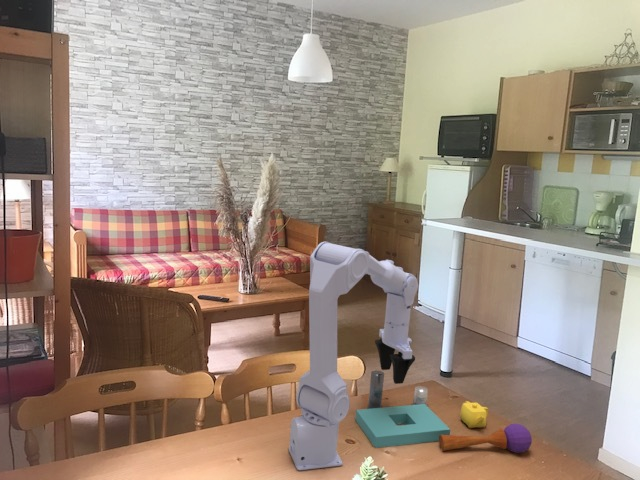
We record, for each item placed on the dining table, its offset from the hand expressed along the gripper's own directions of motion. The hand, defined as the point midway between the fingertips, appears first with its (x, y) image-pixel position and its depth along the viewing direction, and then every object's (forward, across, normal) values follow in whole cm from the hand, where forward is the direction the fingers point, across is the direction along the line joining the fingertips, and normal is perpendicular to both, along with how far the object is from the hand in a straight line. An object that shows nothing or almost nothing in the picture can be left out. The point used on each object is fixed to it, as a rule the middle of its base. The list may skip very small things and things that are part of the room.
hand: (391, 375), depth 126 cm
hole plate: (+10, -7, 0) cm, 12 cm away
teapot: (+10, -8, -19) cm, 23 cm away
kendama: (+10, -18, -15) cm, 26 cm away
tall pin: (+10, +4, +2) cm, 11 cm away
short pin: (+10, +3, -10) cm, 15 cm away
